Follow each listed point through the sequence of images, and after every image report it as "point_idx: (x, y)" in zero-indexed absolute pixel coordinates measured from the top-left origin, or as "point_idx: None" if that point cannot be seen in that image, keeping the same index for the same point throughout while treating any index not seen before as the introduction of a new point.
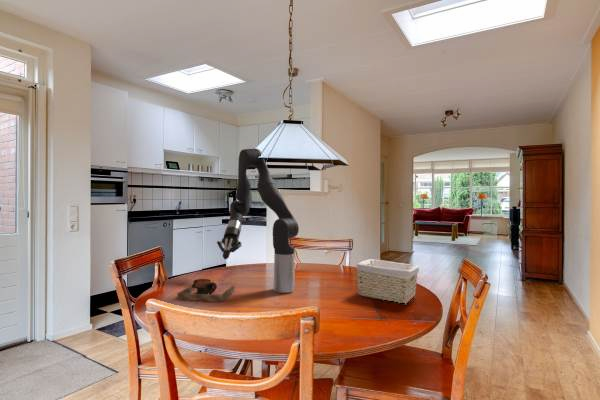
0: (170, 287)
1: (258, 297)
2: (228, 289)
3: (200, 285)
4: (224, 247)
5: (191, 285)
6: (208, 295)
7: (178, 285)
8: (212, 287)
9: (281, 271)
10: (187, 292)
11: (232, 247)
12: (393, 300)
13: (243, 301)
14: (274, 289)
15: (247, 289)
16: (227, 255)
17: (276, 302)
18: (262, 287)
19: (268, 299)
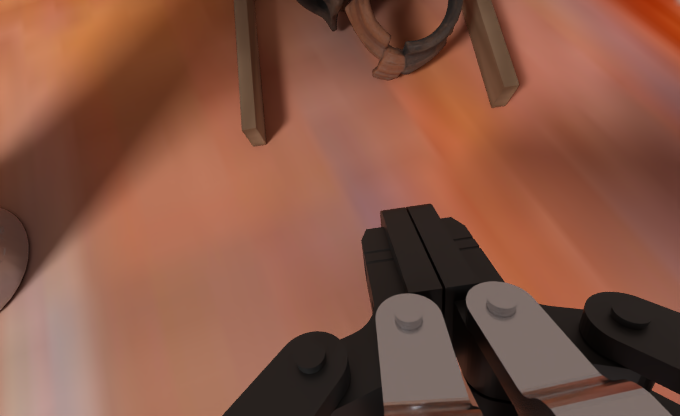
0: (664, 84)
1: (97, 98)
2: (245, 53)
3: None
4: (571, 348)
5: (500, 43)
6: None
7: (659, 137)
8: (328, 8)
9: None
10: (466, 3)
11: (309, 389)
12: None
13: (154, 25)
14: (11, 220)
15: (191, 210)
16: (373, 238)
17: (5, 63)
18: (108, 289)
19: (45, 88)
